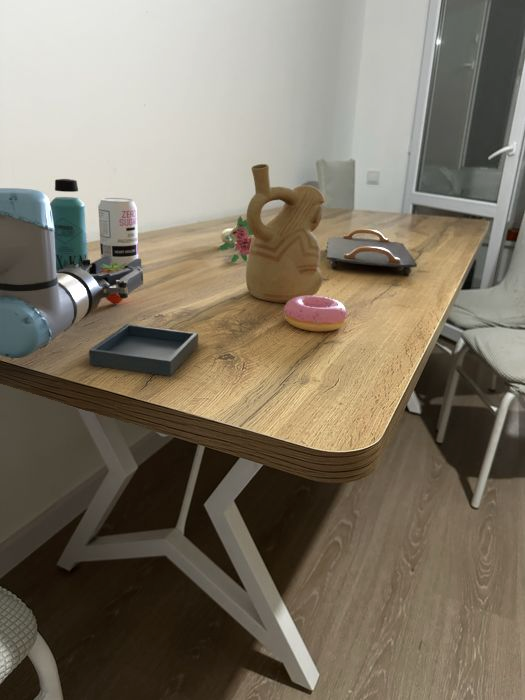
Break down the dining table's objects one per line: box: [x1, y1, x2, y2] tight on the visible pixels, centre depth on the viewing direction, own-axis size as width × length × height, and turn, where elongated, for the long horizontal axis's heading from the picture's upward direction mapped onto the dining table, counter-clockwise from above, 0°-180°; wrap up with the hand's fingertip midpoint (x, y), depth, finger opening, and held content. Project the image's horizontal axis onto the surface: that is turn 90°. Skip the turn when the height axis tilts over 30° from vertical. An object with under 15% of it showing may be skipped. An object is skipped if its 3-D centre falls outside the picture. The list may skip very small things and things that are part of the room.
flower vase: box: [217, 215, 254, 264], centre depth 136 cm, size 12×12×35 cm
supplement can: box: [97, 197, 139, 269], centre depth 117 cm, size 8×8×15 cm
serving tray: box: [325, 228, 418, 276], centre depth 144 cm, size 39×23×6 cm, turn 172°
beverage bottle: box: [50, 178, 88, 272], centre depth 101 cm, size 6×7×20 cm
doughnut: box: [282, 295, 348, 332], centre depth 88 cm, size 11×11×4 cm
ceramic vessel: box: [245, 163, 326, 304], centre depth 101 cm, size 17×20×25 cm
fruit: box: [100, 262, 126, 305], centre depth 92 cm, size 5×5×8 cm
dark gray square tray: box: [88, 323, 199, 377], centre depth 72 cm, size 11×11×2 cm
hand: (123, 264), depth 96 cm, fingers closed on fruit, 5 cm apart
